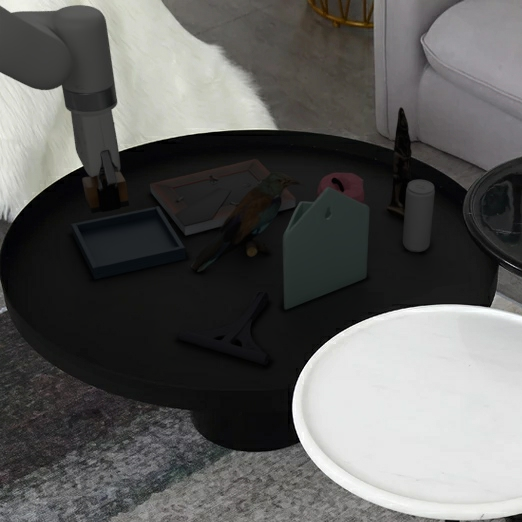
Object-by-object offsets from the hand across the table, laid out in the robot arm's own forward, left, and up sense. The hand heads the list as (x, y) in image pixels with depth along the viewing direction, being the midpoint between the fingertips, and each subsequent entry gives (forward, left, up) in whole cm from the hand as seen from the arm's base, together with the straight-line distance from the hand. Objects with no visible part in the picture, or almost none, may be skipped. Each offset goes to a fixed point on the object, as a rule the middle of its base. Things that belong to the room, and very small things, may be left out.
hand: (107, 201), depth 159 cm
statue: (+53, -4, -13) cm, 54 cm away
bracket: (+14, -24, -13) cm, 30 cm away
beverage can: (+50, -14, -13) cm, 53 cm away
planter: (+29, -17, -13) cm, 35 cm away
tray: (+4, +5, -13) cm, 14 cm away
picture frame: (+24, +13, -13) cm, 30 cm away
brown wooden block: (0, 0, 0) cm, 0 cm away
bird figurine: (+22, -5, -13) cm, 25 cm away
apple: (+41, -2, -13) cm, 43 cm away
